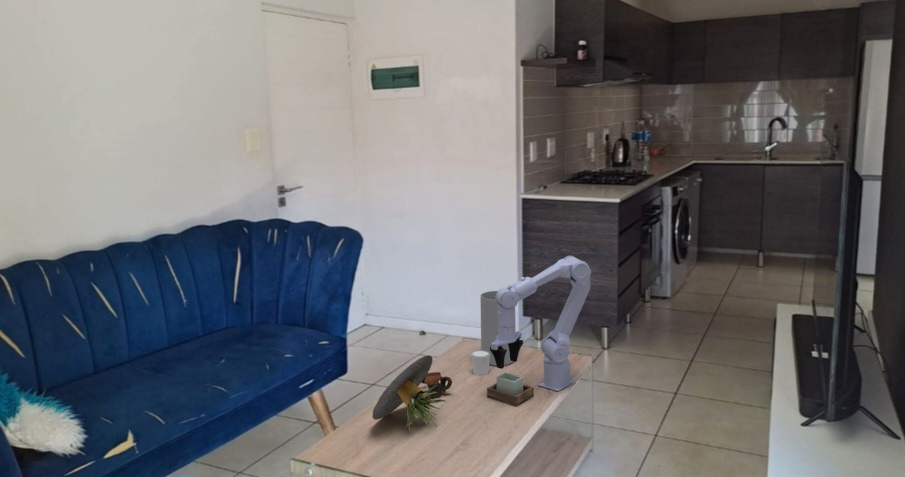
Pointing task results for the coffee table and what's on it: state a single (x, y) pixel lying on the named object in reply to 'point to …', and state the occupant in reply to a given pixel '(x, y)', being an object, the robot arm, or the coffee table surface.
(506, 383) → the green crate
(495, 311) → the cylinder vase
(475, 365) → the white cylinder
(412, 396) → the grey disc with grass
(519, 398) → the walnut crate
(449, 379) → the pottery mug
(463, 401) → the coffee table surface
